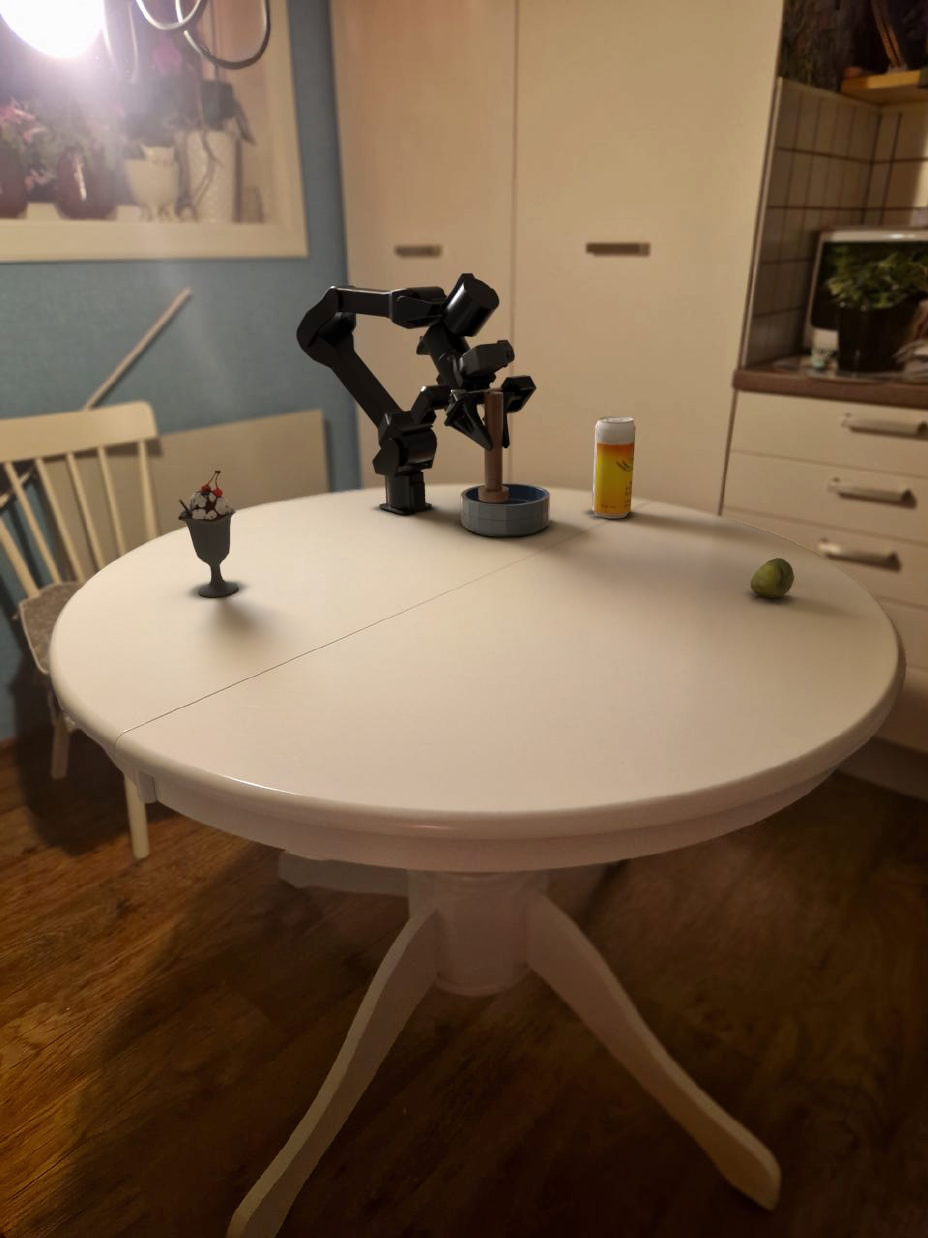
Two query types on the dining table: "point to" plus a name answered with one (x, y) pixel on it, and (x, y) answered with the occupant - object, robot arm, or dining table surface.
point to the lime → (773, 578)
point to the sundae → (210, 534)
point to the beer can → (613, 466)
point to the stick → (493, 451)
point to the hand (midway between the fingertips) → (499, 448)
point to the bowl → (507, 511)
